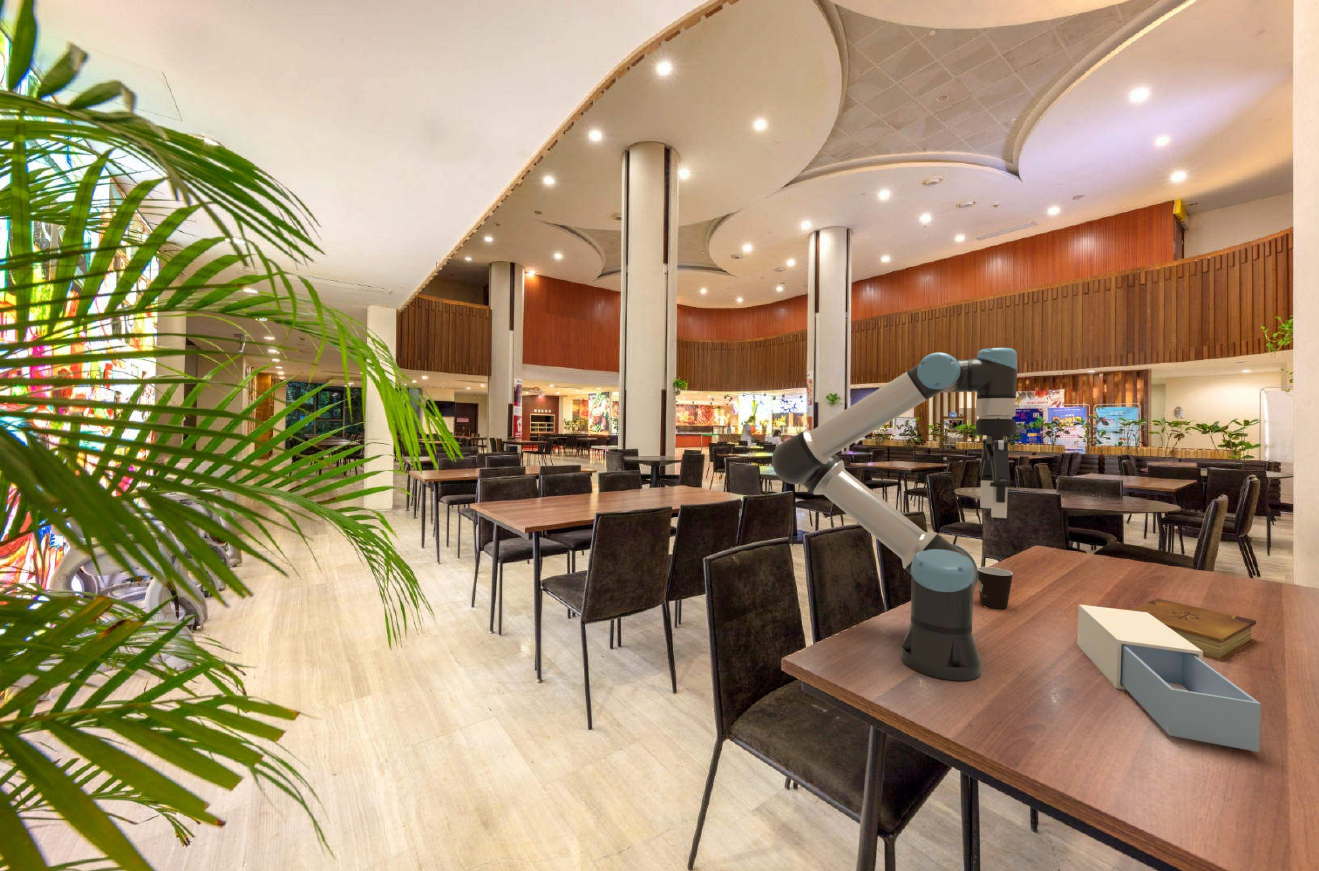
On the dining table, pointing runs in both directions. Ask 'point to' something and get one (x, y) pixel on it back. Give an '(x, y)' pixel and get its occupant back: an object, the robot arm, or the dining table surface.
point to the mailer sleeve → (1123, 637)
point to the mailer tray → (1190, 697)
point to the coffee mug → (994, 587)
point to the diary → (1203, 627)
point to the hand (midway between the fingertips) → (992, 512)
